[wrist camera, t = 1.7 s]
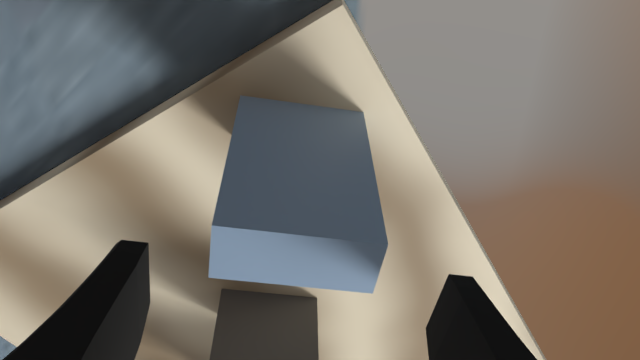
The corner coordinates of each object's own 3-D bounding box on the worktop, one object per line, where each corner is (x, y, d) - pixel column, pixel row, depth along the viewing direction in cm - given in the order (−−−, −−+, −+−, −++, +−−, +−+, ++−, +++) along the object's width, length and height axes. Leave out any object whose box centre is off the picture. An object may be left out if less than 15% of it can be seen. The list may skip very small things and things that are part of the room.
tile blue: (353, 154, 20) (372, 293, 14) (236, 139, 20) (208, 277, 14) (363, 112, 19) (388, 244, 13) (240, 95, 19) (211, 225, 13)
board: (249, 485, 37) (247, 500, 36) (-87, 252, 24) (-101, 268, 23) (560, 384, 31) (567, 400, 30) (341, -5, 18) (343, 4, 17)
